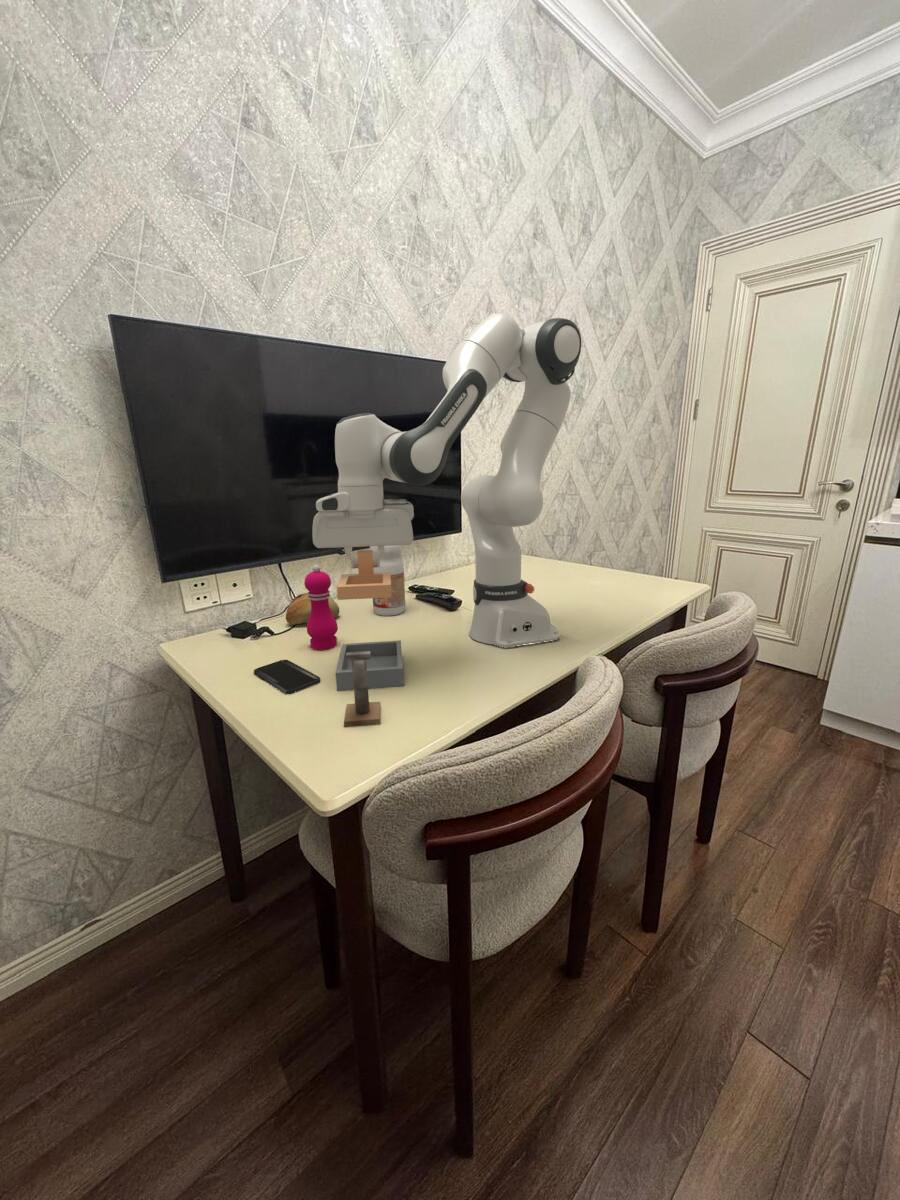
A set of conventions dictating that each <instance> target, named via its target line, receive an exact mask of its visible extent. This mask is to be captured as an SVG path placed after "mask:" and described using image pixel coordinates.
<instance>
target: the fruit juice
mask: <svg viewBox="0 0 900 1200" xmlns="http://www.w3.org/2000/svg"><path fill="white" fill-rule="evenodd" d="M369 550H372V551H373V558H377V556H378V554H379V552H380V551H378V548H377V546H369ZM402 552H403V545H392V546H384V553H383V555H382V557H381V559H380V567H374V573H390V576H391V597H390V598H372V606H373V613H374V614H376V615H378V616H383V617H384V616H385V617H392V616H396V615H400V614H403V613H405V611H406V593H405V592H406V591H405V590H406V589H405V570H404V569H405V567H404V566H405V565H404V562H403V559H402Z"/></svg>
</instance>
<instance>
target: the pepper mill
mask: <svg viewBox="0 0 900 1200" xmlns="http://www.w3.org/2000/svg"><path fill="white" fill-rule="evenodd" d="M311 569H312V571H311V572H309V573H308V574H307V575H306V576H305V578H304V587H305V589H306V590H307V591H308V592H307V593H308V599H310V601H311V613H310V617H309V620H308V623H306V624H307V625H306V633H307V635H308V636H309V637H310V640H309V644H310V648H311V649H313V650H314V651H315V650H316V651H326V649H327V650H330V649H333V648H335V647H337V645H338V638H337V636H336V634H337V632H338V630H339V627H338V621H337V620H336V618H334V616H333V614H332V612H331V610H330V607H329V597H330V596H331V594H330V592H331V591H330V590H329V589H330V588H331V585H332V581H331V580H332V579H331V576H330V575H329V574H328V573H326V572H325V571H322V570H321V566H320V565H318V564H314V565H313V566H312V568H311Z"/></svg>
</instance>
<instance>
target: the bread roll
mask: <svg viewBox="0 0 900 1200" xmlns="http://www.w3.org/2000/svg"><path fill="white" fill-rule="evenodd" d="M329 607H330V610H331V612H332V614H333V616H334V618H335V619H336V618H337V617H338V616H339V615H340V607H339V605H338V603H337V602H336V601H335V599H334V598H333V597H332V596H331V595H330V597H329ZM310 613H311V601H310V599H308V592H305V593H300V594H299V595H297V596H296V597H294V598H293V599H292V600H291V602H290V603H289V605H288V606H287V609H286V614H285V620H286V623H288V624H289V625H299V624H300V625H301V624H307V623H308V620H309V617H310Z"/></svg>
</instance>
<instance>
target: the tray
mask: <svg viewBox="0 0 900 1200" xmlns="http://www.w3.org/2000/svg"><path fill="white" fill-rule="evenodd" d="M364 651H370V654H371V659H368V660H366V668H367V681H368V689H377V688H380V689H381V688H391V687H392V688H393V687H404V685H405V684H404V683H405V682H404V665H403V653H402V641H401V640H400V639H399V640H389V641H388V640H387V641H386V640H385V641H371V642H352V643H342V644H341V648H340V653H339V657H338V661H337V665H336V669H335V681H336V691H339V692H340V691H347V690H348V691H351V690H352V691H354V685H353V673H352V661H346V653H348V652H364Z"/></svg>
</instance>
